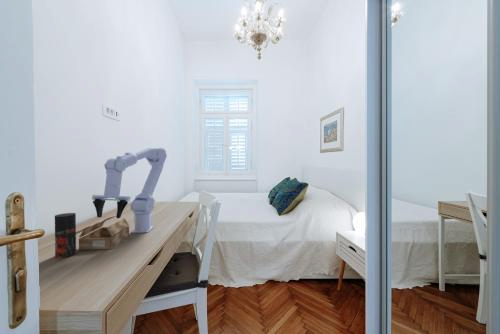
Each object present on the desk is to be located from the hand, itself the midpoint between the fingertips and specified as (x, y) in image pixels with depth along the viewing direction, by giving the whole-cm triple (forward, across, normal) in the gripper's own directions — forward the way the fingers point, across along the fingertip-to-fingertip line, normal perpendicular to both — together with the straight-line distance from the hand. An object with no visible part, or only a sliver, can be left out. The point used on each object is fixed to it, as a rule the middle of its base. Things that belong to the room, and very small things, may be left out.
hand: (108, 217), depth 93 cm
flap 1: (+6, -7, +2) cm, 10 cm away
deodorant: (+13, -9, -9) cm, 18 cm away
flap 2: (+6, +5, +2) cm, 8 cm away
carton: (+11, -1, +2) cm, 11 cm away
